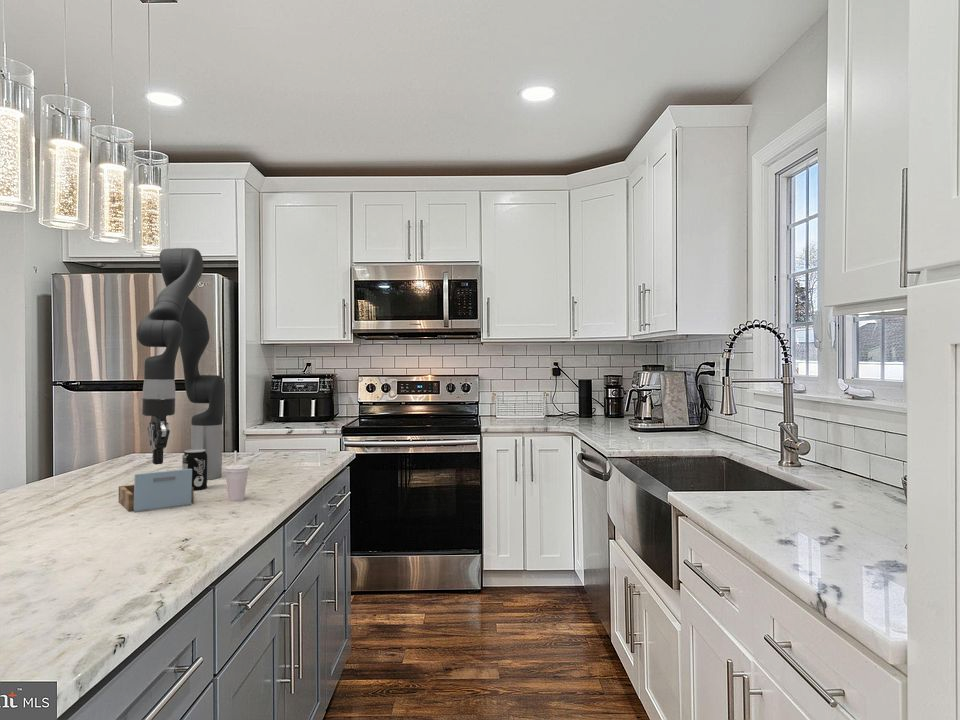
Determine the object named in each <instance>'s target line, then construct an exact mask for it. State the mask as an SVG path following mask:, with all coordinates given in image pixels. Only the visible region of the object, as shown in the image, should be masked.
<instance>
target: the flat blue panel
mask: <svg viewBox="0 0 960 720" xmlns="http://www.w3.org/2000/svg"><path fill="white" fill-rule="evenodd" d="M133 485H134V511H133V512H134V513H140V512H150V511H157V510H164V509H166V510H167V509H173V508H181V507H188V506H192V504H191V492H192V469H182V468H181V469H175V470H174V469H172V470H163V471H153V472H142V473H134V484H133Z"/></svg>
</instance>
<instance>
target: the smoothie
mask: <svg viewBox="0 0 960 720" xmlns="http://www.w3.org/2000/svg"><path fill="white" fill-rule="evenodd" d="M237 455H238V453H237V450H234V455H233V457H234V459H233V464H231V465H227V466H224V469H223V471H224V472H225V480H226V489H227V490H226V491H227V496H228V498H227V499H228V501H230V502H237V501H238V502H239V501H240V502H241V501H243V500H245V494H246V488H247V481H248V475H249V474H248V473H249V471H250V465H248V464H247V465H246V464H237Z"/></svg>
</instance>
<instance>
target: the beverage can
mask: <svg viewBox="0 0 960 720" xmlns="http://www.w3.org/2000/svg"><path fill="white" fill-rule="evenodd" d="M183 452H184V453H183V455H182V461H181V462H182V463H181V464H182V468H181V470H182V469H192V487H194V492H195V491H196V492H197V491H202V490H206V489H208V479H207V454H206V450H205V449H191V448H190V449H185V450H184V451H183Z"/></svg>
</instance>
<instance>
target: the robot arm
mask: <svg viewBox="0 0 960 720" xmlns="http://www.w3.org/2000/svg"><path fill="white" fill-rule="evenodd" d="M158 261H159V267H160V272H161V275H162V280H163V282H164V286H165V287H164V288H163V289H162V290H161V291H160V293H159V294H158V295H157V297H156V299H155V303H154V305H153V308H152V309H151V310H150V311H149V312H148V313H147V314H146V316H144V317H143V319H142V320H141V321H140V322H139V324H138V326H137V329H136V338H137V340H138V343H139V344H140V345H142V346H144V347H147V348H165V350H164V352H163V353H162V354H158V355H153V356H152V355H151V356H149V357H146V358H145V361H144V364H143V365H144V372H143V373H144V374H143V376H144V377H143V378H144V379H143V385H142V386H143V387H142V408H141V409H142V413H141V414H142V415H143V416H145V417H150V422H148V426H147V433H148V439H149V445H150V448H151V450H152V464H153V465H163V464H164V450H165V448H167V445H168V441H169V437H170V433H171V431H170V429H169V422H168V421H167V417H169V416H170V417H171V416H174V415H175V413H176V382H175V381H176V380H175V379H176V378H175V375H176V371H175V369H176V368H175V367H176V361H177V355H178V351H179V350H180V355H181V356H180V357H181V361H182V366H183V369H182V370H183V377H184V386H185V392H186V396H187V398H188V400H189V402H190V403H193V404H208V408H207V409H206V410H204V411H203V412H200V413H198V414H194V415H193V416H192V417H191V427H190V428H191V429H190V432H191V433H190V434H191V443H190V444H191V445H190V447H191V448H190V449H205V450H206V454H207V480H214V479H219V478H221V477H222V473H223V471H222V470H223V467H222V466H223V465H222V464H223V421H224V420H223V419H224V411H225V410H224V409H225V408H224V406H225V397H226V396H225V395H226V386H225V385H226V384H225V383H226V382H225V380H224V378H223V376H222V375H217V374H215V375H214V374H200V370H199V364H200V363H199V362H200V360H201V358H202V355H203V354H204V352H205V351H206V348H207V346H208V344H209V342H210V331H209V325H208V321H207V317H206V315H205V314H204V312H203V311H202V310H201V309H200V308H199V306H197V304H196V303H194V301H192V299H191V298H190V297H189V296H190V295H191V293H192V292H193V290H194V289H195V287H196V285H198V282H199V281H200V279H201V278H202V274H203V271H204V259H203V255H202V253H201V252H200V250H199V249H197V248H193V247H192V248H191V247H186V248H185V247H183V248H182V247H180V248H179V247H175V248H164V249H162V250H161V251H160V253H159V260H158Z"/></svg>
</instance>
